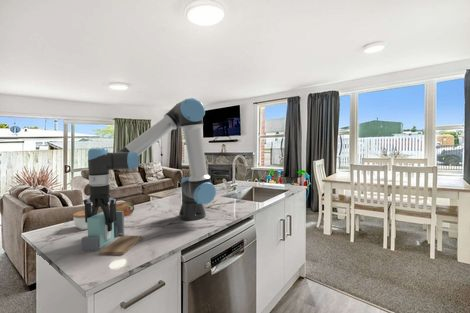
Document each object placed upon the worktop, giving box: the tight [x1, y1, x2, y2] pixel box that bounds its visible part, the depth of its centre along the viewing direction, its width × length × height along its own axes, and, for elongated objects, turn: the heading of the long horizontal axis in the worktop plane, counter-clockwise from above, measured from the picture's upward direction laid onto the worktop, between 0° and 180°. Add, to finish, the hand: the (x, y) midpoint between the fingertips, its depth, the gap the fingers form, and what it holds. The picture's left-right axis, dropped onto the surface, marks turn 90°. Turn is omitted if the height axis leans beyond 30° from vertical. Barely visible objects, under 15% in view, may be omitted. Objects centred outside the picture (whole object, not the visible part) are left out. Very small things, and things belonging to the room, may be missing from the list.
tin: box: [109, 201, 135, 218], centre depth 139 cm, size 15×3×8 cm, turn 139°
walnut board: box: [99, 234, 143, 256], centre depth 99 cm, size 9×16×1 cm, turn 176°
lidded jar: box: [72, 209, 99, 231], centre depth 122 cm, size 11×11×9 cm
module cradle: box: [81, 210, 126, 252], centre depth 103 cm, size 10×17×11 cm, turn 176°
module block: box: [87, 211, 115, 248], centre depth 102 cm, size 5×10×12 cm, turn 176°
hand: (101, 238), depth 102 cm, fingers closed on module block, 5 cm apart
